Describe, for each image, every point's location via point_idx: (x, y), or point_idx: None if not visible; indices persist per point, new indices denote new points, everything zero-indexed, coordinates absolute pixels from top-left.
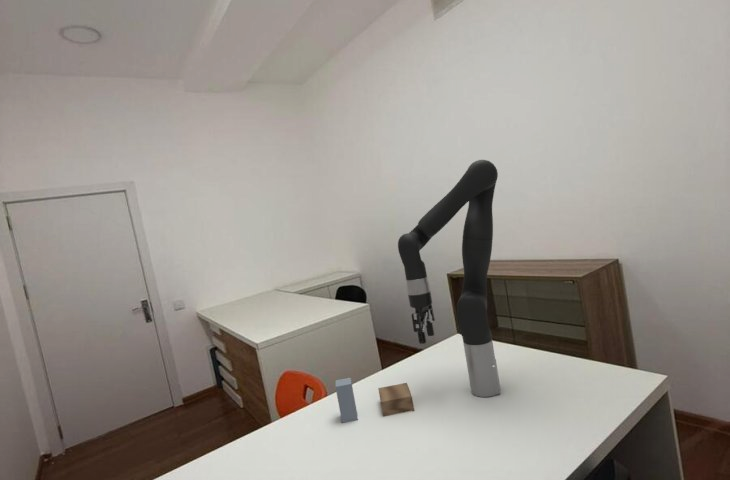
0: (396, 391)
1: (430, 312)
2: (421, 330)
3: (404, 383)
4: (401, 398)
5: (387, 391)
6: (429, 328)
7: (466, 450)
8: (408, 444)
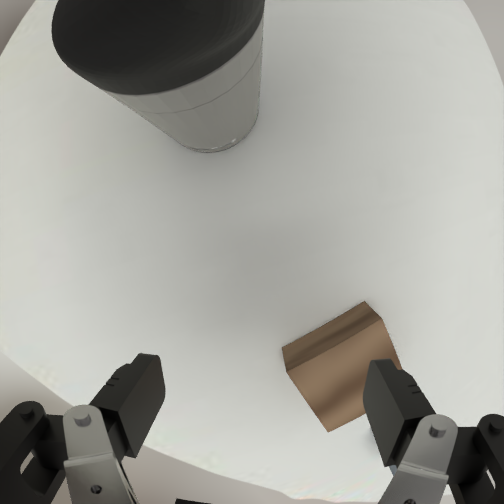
0: (351, 378)
1: (6, 490)
2: (498, 420)
3: (293, 377)
4: (392, 344)
5: (350, 401)
6: (138, 415)
7: (480, 130)
8: (482, 258)
